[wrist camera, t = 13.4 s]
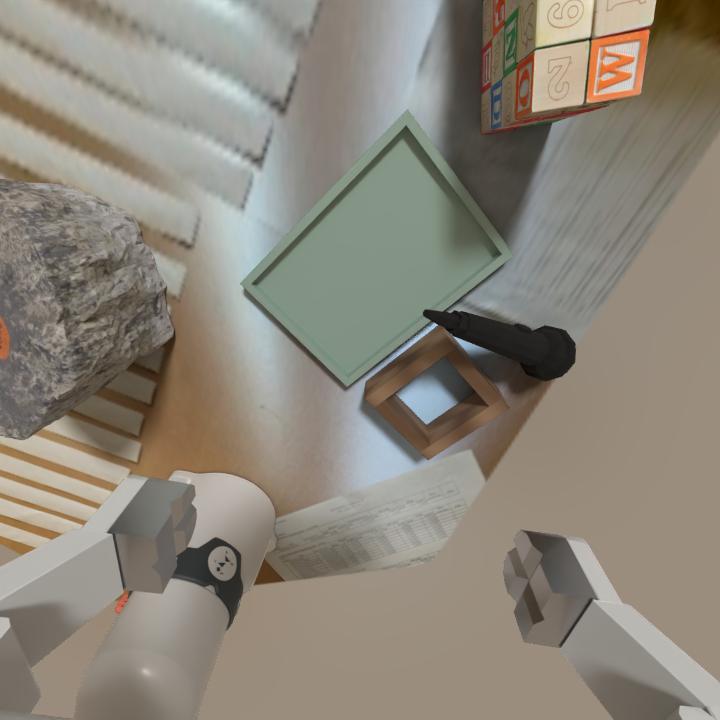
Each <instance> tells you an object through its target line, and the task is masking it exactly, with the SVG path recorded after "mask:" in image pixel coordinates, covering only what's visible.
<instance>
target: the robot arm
mask: <svg viewBox="0 0 720 720" xmlns="http://www.w3.org/2000/svg"><path fill="white" fill-rule="evenodd" d="M275 519H276V516H275V510H274V507H273V504H272V502H271V501H270V499H269V498H268V496H267V495H266V494H265V493H264V492H263V491H262V490H261V489H260V488H258V487H257V486H256V485H254V484H253V483H251V482H249V481H247V480H245V479H243V478H240V477H238V476H234V475H230V474H225V473H204V474H196V473H192V472H187V471H181V470H177V471H174V472H173V473H172V474H171V475H170V477H169V478H168V480H163V479H157V478H150V477H143V476H137V475H130V476H128V477H126V478H125V479H124V480H123V481H122V482H121V483H120V484H119V485H118V487H117V488H116V489H115V490H114V491H113V492H112V494H111V495H110V496H109V497H108V498H107V499H106V500H105V502H104V503H103V504H102V505H101V506H100V507H99V509H98V510H97V511H96V512H95V513H94V514H93V516H92V517H91V518H90V519H89V520H88V521H87V523H86V524H85V525H84V526H83V527H82V528H81V529H72V530H70V531H69V532H67V533H65V534H63V535H61V536H59V537H57V538H55V539H53V540H51V541H49V542H47V543H45V544H44V545H42V546H40V547H38V548H36V549H34V550H32V551H30V552H28V553H26V554H24V555H22V556H20V557H19V558H17V559H15V560H13V561H11V562H9V563H7V564H5V565H3V566H2V567H0V720H197V719H198V715H199V711H200V708H201V704H202V701H203V698H204V694H205V691H206V688H207V685H208V682H209V679H210V676H211V673H212V670H213V668H214V665H215V662H216V659H217V656H218V653H219V650H220V647H221V644H222V641H223V637H224V635H225V632H226V630H228V628H229V627H230V626H231V624H232V622H233V620H234V617H235V616H236V614H237V611H238V609H239V606H240V600H241V597H242V594H243V593H245V592H247V591H250V590H251V588H252V587H253V585H254V582H255V580H256V577H257V575H258V572H259V570H260V567H261V565H262V562H263V560H264V557H265V555H266V553H269V552H271V551H273V550H274V549H275V547H276V544H277V539H276V536H275V533H274V524H275ZM514 543H515V545H516V548H514V549H512V550H511V551H509V552H508V553H507V556H506V558H505V560H504V571H503V574H504V581H505V585H506V588H507V592H508V594H509V595H510V596H511V597H512V598H513V599H514V600H515V601H516V602H517V605H516V608H515V610H514V614H515V617H516V620H517V623H518V626H519V629H520V632H521V635H522V638H523V641H524V642H527V643H533V644H539V645H545V646H551V647H558V648H561V649H560V651H561V652H562V654H563V655H564V656H565V658H566V659H567V660H568V661H569V663H570V664H571V665H572V667H573V668H574V669H575V670H576V672H577V673H578V674H579V676H580V677H581V678H582V679H583V681H584V682H585V683H586V684H587V686H588V687H589V688H590V689H591V691H592V692H593V694H594V695H595V696H596V697H597V699H598V700H599V701H600V703H601V704H602V705H603V706H604V708H605V709H606V710H607V711H608V713H609V714H610V715H611V717H612V718H613V719H614V720H720V683H719V682H718V681H717V680H716V679H715V678H713V677H712V676H711V675H710V674H709V673H708V672H707V671H705V670H704V669H703V668H702V667H701V666H699V664H697V663H696V662H695V661H694V660H692V658H690V657H689V656H688V655H687V654H686V653H685V652H683V651H682V650H681V649H680V648H679V647H678V646H676V645H675V644H674V643H673V642H672V641H671V640H670V639H668V638H667V637H666V636H665V635H664V634H663V633H661V632H660V631H659V630H658V629H657V628H656V627H654V626H653V625H652V624H651V623H650V622H649V621H647V620H646V619H645V618H644V617H643V616H642V615H641V614H639V613H638V612H637V611H636V610H635V609H634V608H632V607H631V606H630V605H629V604H623V603H622V602H621V600H620V598H619V597H618V595H617V593H616V592H615V590H614V588H613V587H612V585H611V583H610V581H609V580H608V578H607V576H606V575H605V573H604V571H603V569H602V568H601V566H600V565H599V563H598V561H597V559H596V558H595V556H594V554H593V553H592V551H591V549H590V548H589V546H588V544H587V543H586V542H585V541H584V540H583V539H582V538H578V537H570V536H563V535H561V536H560V535H556V534H549V533H541V532H532V531H525V530H520V531H519V532H518V533H517V534H516V536H515V538H514ZM124 590H129V593H127V594H126V595H125V596H124V597H123V598H122V599H121V600H120V601H119V603H118V604H117V606H116V608H115V612H116V613H119V615H118V617H117V618H116V620H115V622H114V623H113V625H112V627H111V629H110V630H109V632H108V634H107V635H106V637H105V639H104V640H103V642H102V644H101V645H100V647H99V649H98V650H97V652H96V654H95V655H94V657H93V659H92V660H91V662H90V664H89V665H88V667H87V669H86V671H85V673H84V675H83V677H82V680H81V682H80V686H79V689H78V693H77V697H76V705H75V713H74V718H73V719H70V718H61V717H53V716H46V715H38V714H30V713H31V712H32V710H33V708H34V707H35V705H36V704H37V702H38V701H39V699H40V697H41V695H40V688H39V686H38V683H37V681H36V679H35V676H34V674H33V672H32V670H31V668H32V667H33V666H34V665H35V664H37V663H38V662H39V661H40V660H42V659H43V658H44V657H45V656H46V655H48V654H49V653H50V652H51V651H52V650H54V649H55V648H56V647H58V646H59V645H60V644H61V643H62V642H64V641H65V640H66V639H67V638H68V637H70V636H71V635H72V634H73V633H75V632H76V631H77V630H78V629H80V628H81V627H82V626H83V625H84V624H86V623H87V622H88V621H89V620H91V619H92V618H93V617H94V616H95V615H97V614H98V613H99V612H101V611H102V610H103V609H104V608H105V607H107V606H108V605H109V604H110V603H112V602H113V601H114V600H115V599H116V598H118V597H119V596H120V595H121V594H123V593H124Z"/></svg>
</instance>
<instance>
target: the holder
mask: <svg viewBox="0 0 720 720" xmlns="http://www.w3.org/2000/svg"><path fill="white" fill-rule="evenodd" d="M444 356H445V357H446V358H447V360H448V361H449V362H450V363H451V364H452V365H453V366H454V367H455V369H456V370H457V371H458V372H459V373H460V374H461V375H462V376H463V378H464V379H465V380H466V381H467V382H468V383H469V384H470V385H471V386H472V388H473V389H474V390H475V391H476V392H474V393H473V394H471V395H470V396H468V397H467V398H466V399H464V400H463V401H461V402H460V403H458V404H457V405H455V406H454V407H452V408H451V409H449V410H448V411H446V412H445V413H444V414H442V415H441V416H439V417H438V418H436V419H435V420H433V421H432V422H430V423H429V424H427V425H426V424H425V423H424V422H423V421H422V420H421V419H420V418H419V417H418V416H417V415H416V414H415V413H414V412H413V411H412V410H411V409H410V408H409V407H408V406H407V405H406V404H405V403H404V402H403V401H402V400H401V399H400V398H399V397H398V396H397V395H396V394H395V392H396V391H398V390H399V389H400V388H402V387H403V386H404V385H406V384H407V383H409V382H410V381H411V380H413V379H414V378H415V377H417V376H418V375H419V374H421V373H422V372H423V371H425V370H426V369H427V368H429V367H430V366H431V365H433V364H434V363H436V362H437V361H438V360H440V359H441V358H442V357H444ZM365 400H367V401H368V402H369V403H370V404H371V405H372V406H373V407H374V408H375V409H376V410H377V411H378V412H379V413H380V414H381V415H382V416H383V417H384V418H385V419H386V420H387V421H388V422H389V423H390V424H391V425H392V426H393V427H394V428H395V429H396V430H397V431H398V432H400V433H401V434H402V435H403V436H404V437H405V438H406V439H407V440H408V441H409V442H410V443H411V444H412V445H413V446H414V447H415V448H416V449H417V450H418V451H419V452H420V453H421V454H422V455H423V456H424V457H425V458H426V459H427V460H429V459H431V458H432V457H434V456H435V455H437V454H439V453H440V452H442V451H443V450H445V449H446V448H448V447H449V446H451V445H453V444H454V443H456V442H457V441H459V440H460V439H462V438H463V437H465V436H467V435H468V434H470V433H471V432H473V431H474V430H476V429H477V428H479V427H481V426H482V425H484V424H485V423H487V422H488V421H490V420H491V419H493V418H495V417H496V416H498V415H499V414H501V413H502V412H504V411H505V410H507V409H509V406H508V405H507V403H506V401H505V400H504V398H503V396H502V394H501V393H500V391H499V389H498V388H497V387H496V386H495V385H494V383H493V382H492V381H491V380H490V379H489V378H488V377H487V375H486V374H485V373H484V372H483V371H482V370H481V368H480V367H479V366H478V365H477V364H476V363H475V361H474V360H473V359H472V358H471V357H470V356H469V355H468V353H467V352H466V351H465V350H464V349H463V348H462V346H461V345H460V344H459V343H458V342H457V341H456V339H455V338H454V337H453V336H452V335H451V334H450V333H449V332H448V331H447V330H446V329H445V328H444V327H442V326H440V325H438V326H437V327H435V328H434V329H433V330H432V331H430V332H429V333H428V334H426V335H425V336H424V337H423V338H421V339H420V340H419V341H417V342H416V343H415V344H414V345H412V346H411V347H410V348H408V349H407V350H406V351H405V352H403V353H402V354H401V355H399V356H398V357H397V358H396V359H394V360H393V361H392V362H390V363H389V364H388V365H387V366H385V367H384V368H383V369H381V370H380V371H379V372H378V373H376V374H375V375H374V376H372V377H371V378H370V379H369V380H367V381H366V391H365Z"/></svg>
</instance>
